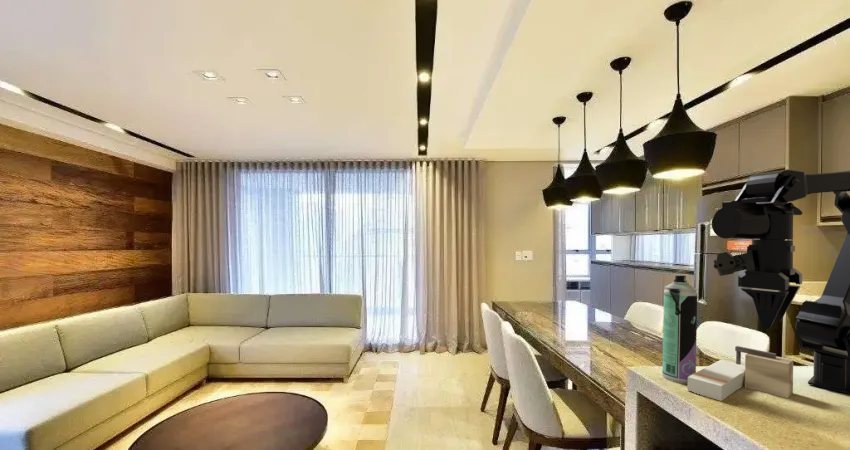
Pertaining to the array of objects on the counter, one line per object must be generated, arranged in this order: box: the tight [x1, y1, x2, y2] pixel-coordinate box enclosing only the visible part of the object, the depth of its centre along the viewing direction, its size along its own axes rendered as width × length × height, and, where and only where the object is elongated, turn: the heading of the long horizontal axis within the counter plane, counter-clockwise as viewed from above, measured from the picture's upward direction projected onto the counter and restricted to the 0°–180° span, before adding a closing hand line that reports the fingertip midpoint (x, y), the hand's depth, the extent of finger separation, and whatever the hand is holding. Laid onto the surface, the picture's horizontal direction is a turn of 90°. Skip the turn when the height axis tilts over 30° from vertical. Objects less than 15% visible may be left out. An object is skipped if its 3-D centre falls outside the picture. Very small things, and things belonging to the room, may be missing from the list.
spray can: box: [661, 275, 698, 384], centre depth 77 cm, size 6×6×20 cm
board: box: [687, 359, 745, 402], centre depth 74 cm, size 18×5×3 cm, turn 128°
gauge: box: [734, 345, 794, 399], centre depth 73 cm, size 4×8×7 cm, turn 38°
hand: (771, 325), depth 72 cm, fingers open, 9 cm apart
